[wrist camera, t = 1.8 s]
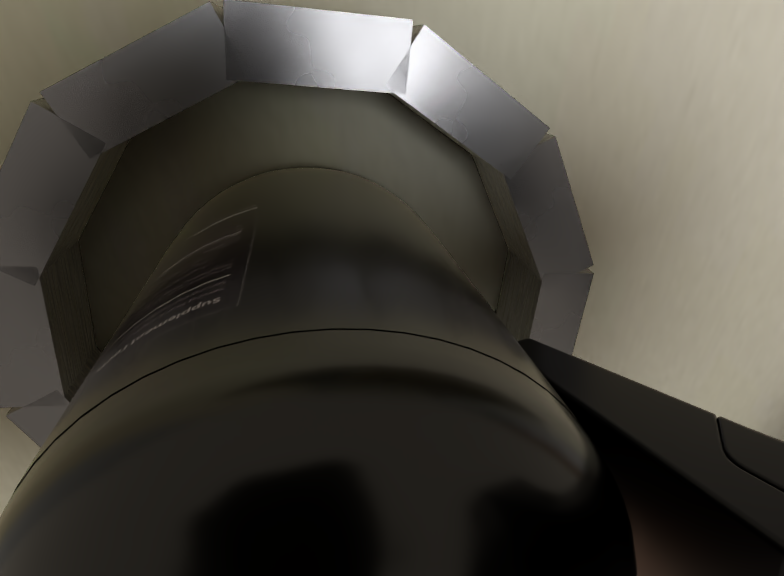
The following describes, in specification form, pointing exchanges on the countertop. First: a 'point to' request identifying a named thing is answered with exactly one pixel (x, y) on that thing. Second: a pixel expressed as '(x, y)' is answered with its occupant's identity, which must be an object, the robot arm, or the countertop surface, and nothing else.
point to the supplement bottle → (314, 414)
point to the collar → (276, 66)
